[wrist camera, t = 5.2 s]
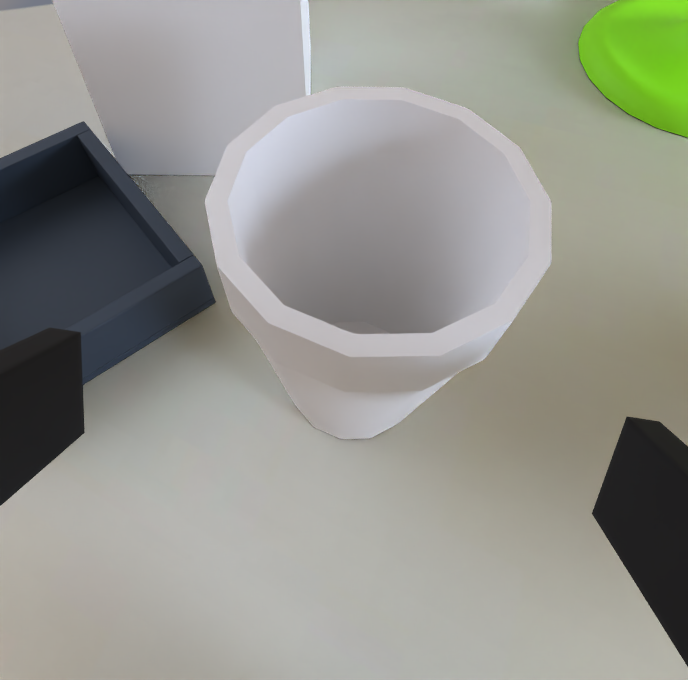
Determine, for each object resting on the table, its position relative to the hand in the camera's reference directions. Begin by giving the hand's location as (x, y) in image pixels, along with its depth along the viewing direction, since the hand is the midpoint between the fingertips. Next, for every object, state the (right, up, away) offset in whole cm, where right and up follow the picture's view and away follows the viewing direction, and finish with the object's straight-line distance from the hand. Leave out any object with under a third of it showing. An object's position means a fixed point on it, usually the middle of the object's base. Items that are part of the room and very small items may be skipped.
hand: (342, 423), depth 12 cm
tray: (-15, +5, +15) cm, 22 cm away
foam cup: (0, 0, +13) cm, 13 cm away
